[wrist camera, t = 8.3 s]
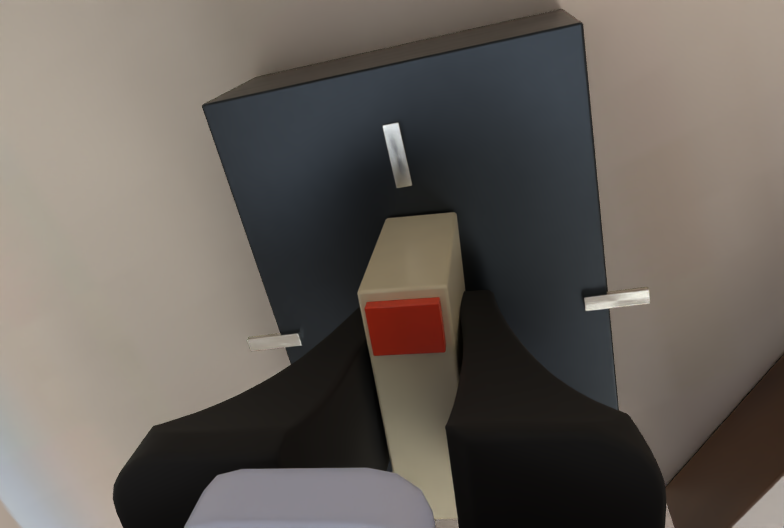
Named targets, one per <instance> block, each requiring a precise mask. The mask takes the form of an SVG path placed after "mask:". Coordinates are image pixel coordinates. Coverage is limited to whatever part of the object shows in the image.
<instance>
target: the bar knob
mask: <svg viewBox="0 0 784 528" xmlns="http://www.w3.org/2000/svg"><path fill="white" fill-rule="evenodd" d="M464 291H465V283H464V274H463V265H462V256H461V248H460V239H459V230H458V221H457V214H456V213H455V212H450V213H439V214H429V215H418V216H407V217H396V218H387V219H386V220H385V223H384V225H383V228H382V230H381V233H380V235H379V238H378V241H377V243H376V246H375V248H374V251H373V254H372V256H371V259H370V261H369V264H368V266H367V269H366V272H365V274H364V277H363V279H362V282H361V284H360V287H359V290H358V293H357V294H358V299H359V304H360V309H361V314H362V319H363V325H364V330H365V335H366V340H367V345H368V350H369V355H370V360H371V365H372V370H373V375H374V380H375V385H376V391H377V396H378V401H379V406H380V411H381V416H382V421H383V426H384V431H385V436H386V441H387V446H388V451H389V457H390V462H391V467H392V472H393V473H397V474H398V475H400V476H401V477H403V478H404V479H406V480H407V481H409V482H410V483H412V484H413V485H415V486H416V487H418V488H419V489H421V490H422V492H423V494H424V496H425V498H426V499H427V501H428V503H429V505H430V507H431V509H432V511H433V515H434V519H458V516H457V509H456V502H455V495H454V487H453V480H452V473H451V465H450V458H449V451H448V443H447V436H446V429H445V426H446V424H447V422H448V419H449V416H450V414H451V411H452V408H453V405H454V401H455V397H456V393H457V389H458V383H459V378H460V373H461V366H462V359H463V335H462V324H461V314H460V306H461V300H462V296H463V293H464Z"/></svg>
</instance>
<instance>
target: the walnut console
mask: <svg viewBox="0 0 784 528" xmlns="http://www.w3.org/2000/svg"><path fill="white" fill-rule="evenodd" d="M665 489H666V498H667V499H666V503H667V506H668V509H669V512H670V515H671V518H672V521H673V524H674V527H675V528H784V355H783V356H782V357H781V358H780V359H779V360H778V361H777V363H776V364H775V365H774V366H773V367H772V368H771V369H770V370H769V372H768V373H767V374H766V375H765V376H764V377H763V378H762V379H761V381H760V382H759V383H758V384H757V385H756V386H755V387H754V388H753V390H752V391H751V392H750V393H749V394H748V395H747V396H746V397H745V399H744V400H743V401H742V402H741V403H740V404H739V405H738V407H737V408H736V409H735V410H734V411H733V412H732V413H731V414H730V416H729V417H728V418H727V419H726V420H725V421H724V422H723V423H722V425H721V426H720V427H719V428H718V429H717V430H716V431H715V432H714V434H713V435H712V436H711V437H710V438H709V439H708V440H707V441H706V443H705V444H704V445H703V446H702V447H701V448H700V449H699V450H698V452H697V453H696V454H695V455H694V456H693V457H692V458H691V460H690V461H689V462H688V463H687V464H686V465H685V466H684V467H683V469H682V470H681V471H680V472H679V473H678V474H677V475H676V476H675V478H674V479H673V480H672V481H671V482H670V483H669V484H668V485H667V487H666V488H665Z"/></svg>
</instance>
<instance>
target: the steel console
mask: <svg viewBox="0 0 784 528" xmlns="http://www.w3.org/2000/svg"><path fill="white" fill-rule="evenodd" d="M202 108H203V111H204V114H205V117H206V119H207V122H208V125H209V128H210V131H211V134H212V137H213V140H214V143H215V145H216V148H217V151H218V154H219V157H220V160H221V163H222V166H223V169H224V172H225V174H226V177H227V180H228V183H229V186H230V189H231V192H232V195H233V198H234V200H235V203H236V206H237V209H238V212H239V215H240V218H241V221H242V224H243V227H244V229H245V232H246V235H247V238H248V241H249V244H250V247H251V250H252V253H253V255H254V258H255V261H256V264H257V267H258V270H259V273H260V276H261V279H262V282H263V284H264V287H265V290H266V293H267V296H268V299H269V302H270V305H271V308H272V310H273V313H274V316H275V319H276V322H277V325H278V328H279V331H280V333H276V334H268V335H260V336H252V337H248V339H247V342H248V345H249V347H250V350H251V351H259V350H267V349H276V348H284V347H285V348H286V351H287V354H288V357H289V360H290V363H291V364H293V363H294V362H296V361H297V360H298V359H300V358H301V357H302V356H304V355H305V354H306V353H308V352H309V351H310V350H311V349H312V348H314V347H315V346H316V345H317V344H318V343H320V342H321V341H322V340H323V339H325V338H326V337H327V336H328V335H329V334H331V333H332V332H333V331H334V330H335V329H336V328H337V327H338V326H339V325H340V324H341V323H342V322H344V321H345V320H346V319H347V318H348V317H349V316H350V315H351V314H352V313H353V312H354V311H355V310H356V309H357V308H358V307H359V306H360V304H359V299H358V294H357V293H358V290H359V287H360V284H361V282H362V279H363V277H364V274H365V272H366V269H367V266H368V264H369V261H370V259H371V256H372V254H373V251H374V248H375V246H376V243H377V241H378V238H379V235H380V233H381V230H382V228H383V225H384V223H385V220H386V219H387V218H396V217H407V216H418V215H429V214H439V213H450V212H455V213H456V214H457V221H458V230H459V239H460V248H461V256H462V265H463V274H464V283H465V291H476V290H490V291H491V292H492V293H494V296H495V300H496V303H497V305H498V308H499V310H500V311H501V313H502V315H503V317H504V319H505V320H506V322H507V323H508V325H509V326H510V328H511V329H512V331H513V332H514V334H515V335H516V336H517V338H518V339H519V340H520V342H521V343H522V344H523V345H524V346H525V348H526V349H527V350H528V351H529V352H530V353H531V354H532V355H533V356H534V358H535V359H536V360H537V361H538V362H540V363H541V364H542V365H543V366H544V367H545V368H546V369H547V370H548V371H549V372H551V373H552V374H553V375H554V376H556V377H557V378H558V379H560V380H561V381H563V382H564V383H565V384H567V385H568V386H570V387H571V388H573V389H575V390H576V391H578V392H580V393H582V394H584V395H585V396H587V397H589V398H591V399H593V400H595V401H597V402H599V403H602V404H604V405H606V406H609V407H611V408H614V409H616V410H619V407H618V396H617V385H616V375H615V364H614V353H613V342H612V331H611V321H610V310H609V308H616V307H625V306H633V305H641V304H649V303H650V293H649V288H648V287H641V288H633V289H625V290H617V291H609V292H608V288H607V277H606V267H605V256H604V245H603V234H602V223H601V213H600V202H599V191H598V180H597V169H596V159H595V148H594V137H593V126H592V115H591V105H590V94H589V83H588V72H587V61H586V51H585V40H584V29H583V23H582V22H581V21H579V20H578V19H576V18H575V17H573V16H572V15H570V14H569V13H567V12H566V11H565V10H563V9H558V10H554V11H549V12H545V13H541V14H536V15H532V16H527V17H523V18H518V19H514V20H509V21H505V22H500V23H496V24H491V25H487V26H482V27H478V28H473V29H469V30H464V31H460V32H456V33H451V34H447V35H442V36H438V37H433V38H429V39H424V40H420V41H415V42H411V43H406V44H402V45H397V46H393V47H388V48H384V49H379V50H375V51H371V52H366V53H362V54H357V55H353V56H348V57H344V58H339V59H335V60H330V61H326V62H321V63H317V64H312V65H308V66H303V67H299V68H294V69H290V70H286V71H281V72H277V73H272V74H268V75H263V76H259V77H255V78H253V79H251V80H249V81H247V82H245V83H243V84H241V85H239V86H238V87H236V88H234V89H232V90H230V91H228V92H226V93H224V94H222V95H220V96H218V97H216V98H214V99H212V100H210V101H209V102H207V103H205V104H203V105H202ZM387 472H392V467H391V462H390V460H389V464H388V468H387ZM392 473H393V472H392Z"/></svg>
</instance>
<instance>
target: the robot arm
mask: <svg viewBox="0 0 784 528" xmlns="http://www.w3.org/2000/svg"><path fill="white" fill-rule="evenodd" d="M460 314H461V324H462V335H463V359H462V366H461V373H460V378H459V383H458V389H457V393H456V397H455V401H454V405H453V408H452V411H451V414H450V416H449V419H448V422H447V424H446V426H445V429H446V436H447V443H448V451H449V458H450V465H451V473H452V480H453V487H454V495H455V502H456V509H457V516H458V524H459V528H665V517H666V499H667V498H666V489H665V483H664V479H663V476H662V473H661V471H660V468H659V466H658V464H657V462H656V459H655V458H654V456H653V454H652V452H651V450H650V448H649V446H648V444H647V443H646V441H645V439H644V437H643V436H642V434H641V433H640V431H639V429H638V428H637V426H636V425H635V423H634V422H633V420H632V419H631V417H630V416H629V415H628V414H626V413H623V412H621V411H619V410H616V409H614V408H611V407H609V406H606V405H604V404H602V403H599V402H597V401H595V400H593V399H591V398H589V397H587V396H585V395H584V394H582V393H580V392H578V391H576V390H575V389H573V388H571V387H570V386H568V385H567V384H565V383H564V382H563V381H561V380H560V379H558V378H557V377H556V376H554V375H553V374H552V373H551V372H549V371H548V370H547V369H546V368H545V367H544V366H543V365H542V364H541V363H540V362H538V361H537V360H536V359H535V358H534V356H533V355H532V354H531V353H530V352H529V351H528V350H527V349H526V348H525V346H524V345H523V344H522V343H521V342H520V340H519V339H518V338H517V336H516V335H515V334H514V332H513V331H512V329H511V328H510V326H509V325H508V323H507V322H506V320H505V319H504V317H503V315H502V313H501V311H500V310H499V308H498V305H497V303H496V300H495V296H494V293H492V292H491V291H490V290H476V291H464V293H463V296H462V300H461V306H460ZM389 460H390V457H389V451H388V446H387V441H386V436H385V431H384V426H383V421H382V416H381V411H380V406H379V401H378V396H377V391H376V385H375V380H374V375H373V370H372V365H371V360H370V355H369V350H368V345H367V340H366V335H365V330H364V325H363V319H362V314H361V309H360V306H359V307H358V308H357V309H356V310H355V311H354V312H353V313H352V314H351V315H350V316H349V317H348V318H347V319H346V320H345V321H344V322H342V323H341V324H340V325H339V326H338V327H337V328H336V329H335V330H334V331H333V332H332V333H331V334H329V335H328V336H327V337H326V338H325V339H323V340H322V341H321V342H320V343H318V344H317V345H316V346H315V347H314V348H312V349H311V350H310V351H309V352H308V353H306V354H305V355H304V356H302V357H301V358H300V359H298V360H297V361H296V362H294V363H293V364H291V365H290V366H288V367H287V368H285V369H284V370H282V371H281V372H279V373H277V374H276V375H274V376H273V377H271V378H269V379H267V380H266V381H264V382H262V383H260V384H258V385H256V386H254V387H253V388H251V389H249V390H247V391H245V392H243V393H241V394H239V395H237V396H235V397H233V398H231V399H228V400H226V401H224V402H222V403H219V404H217V405H214V406H212V407H209V408H207V409H204V410H202V411H199V412H196V413H194V414H190V415H187V416H184V417H181V418H178V419H175V420H172V421H169V422H166V423H163V424H159V425H155V426H153V427H152V428H151V430H150V431H149V432H148V434H147V435H146V437H145V438H144V439H143V441H142V442H141V444H140V445H139V446H138V448H137V449H136V451H135V452H134V453H133V455H132V456H131V458H130V459H129V460H128V462H127V463H126V465H125V466H124V467H123V469H122V470H121V472H120V473H119V475H118V477H117V479H116V481H115V484H114V489H113V501H114V505H115V508H116V512H117V515H118V517H119V519H120V521H121V524H122V526H123V528H435V521H434V515H433V511H432V509H431V507H430V505H429V503H428V501H427V499H426V498H425V496H424V494H423V492H422V490H421V489H419V488H418V487H416V486H415V485H413V484H412V483H410V482H409V481H407V480H406V479H404V478H403V477H401V476H400V475H398V474H397V473H392V472H387V468H388V464H389Z"/></svg>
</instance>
